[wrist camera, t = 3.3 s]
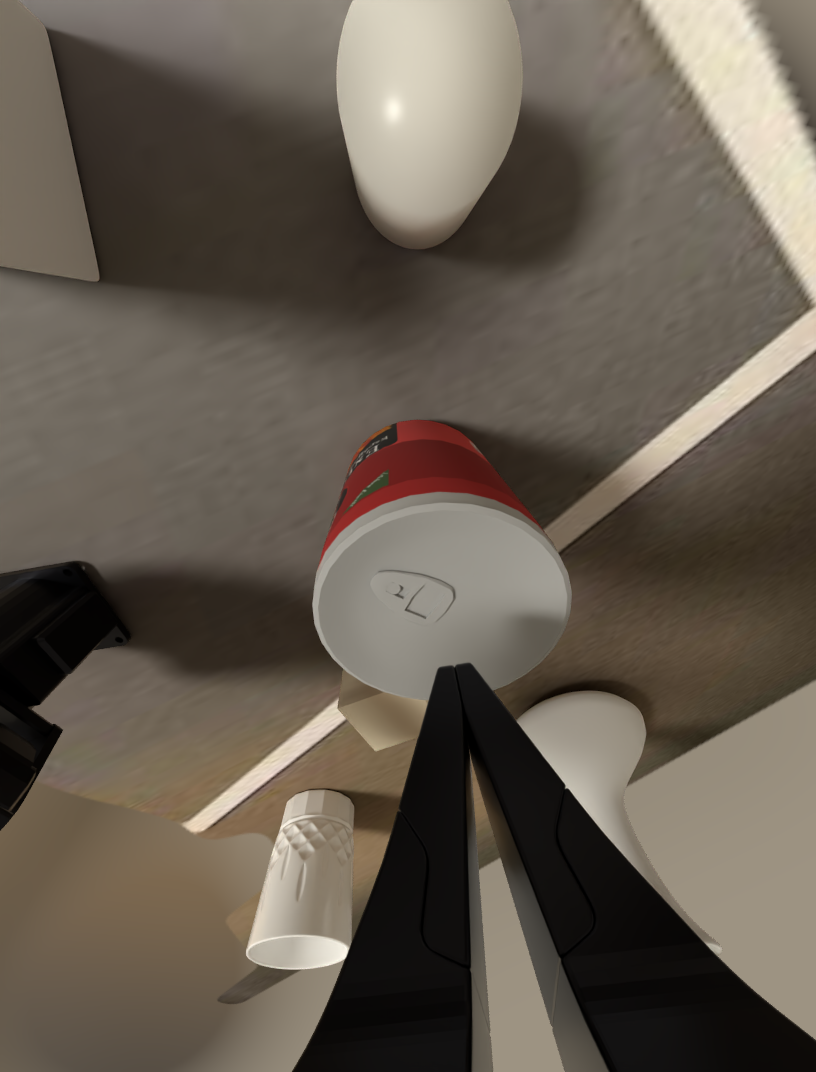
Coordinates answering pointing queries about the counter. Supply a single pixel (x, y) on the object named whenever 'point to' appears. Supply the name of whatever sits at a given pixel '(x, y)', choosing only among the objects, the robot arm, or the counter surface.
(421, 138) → the off-white smooth rounded part
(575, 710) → the flower in vase
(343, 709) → the birch block
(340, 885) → the white cup
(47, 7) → the counter surface
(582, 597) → the counter surface
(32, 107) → the milk carton
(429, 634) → the canned food
